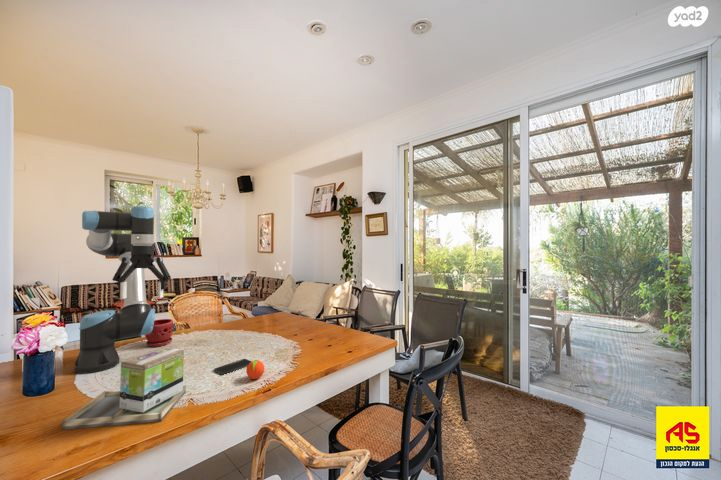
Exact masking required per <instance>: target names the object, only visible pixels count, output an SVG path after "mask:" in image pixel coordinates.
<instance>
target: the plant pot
mask: <svg viewBox="0 0 721 480" xmlns="http://www.w3.org/2000/svg"><path fill="white" fill-rule="evenodd" d="M173 332H174V320H173V319H170V318H162V319H161V318H160V319H154V325H153V330H152V332H151V333H150V334H146V335H144V336H145V339H146V340H147V341H146V344H145V345H147V346H148V347H151V348H152V347H153V348H155V347H164V346H166V345H168V344H170V343H171V342H172V341H173V337H172V336H173Z"/></svg>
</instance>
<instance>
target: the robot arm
mask: <svg viewBox="0 0 721 480" xmlns="http://www.w3.org/2000/svg"><path fill="white" fill-rule="evenodd" d="M154 212H155V210H154V208H153V207H151V206H146V205H145V206H141V205H136V206H135V205H134V206H132V207H131V209H130V212H119V211H117V212H116V211H101V210H85V211H83V212H82V214H81V228H82V229H83V230H84V231H88V235H87V237H86V241H85V242H86V246H87V247H88V249H89V250H90V251H92V252H93V253H95V254H98V255H100V256H105V257H118V260H119V261H120V262H121V263H120V264H119V266H118V268H117V270H116V272H115V274H114V275H113V277H112V281H113V282H117V289H118V291H120V292H119V293H120V300H123V302H124V304H123V306H122V307H121V308H120V311H119V312H116V311H115V310H113V309H108V310H107V309H106V310H100V311H96V312H93V313H89V314H86V315H84V316H83V317H81V319H80V322H79V328H78V329H79V352H78V355H77V357H76V360H75V363H74V365H73V372H74V373H76V374H90V373H91V374H92V373H98V372H102V371H105V370H110V369H112V368H113V367H114V368H115V367H116V366H118V365H119V364H120V356H119V353H118V350H117V348H116V345H115V344H116V343H115V340H123V339H129V338H133V337H141V336H145V335H146V334H150V333H151V332H152V330H153V325H154V320H155V319H156V318H155V316H156V315H155V313H156V311H155V308H151V304H149V303H148V302H147V292H146V279H145V275H146V274H145V269H148V270H150V272H151V273H153V274H154V276H155V277H156V278H157V279H158V280H159V281H158V282H157V298H158V299H161V298H164V290H166V288H167V286H166V285H167V283H166V282H167V281H169V280H171V279H172V276H171V275H170V272H169V271H168V269H167V268H166V266H165V264H164V262H163V261H164V260H163V257H162V256H157V257H154V254H155V253H154V252H155V246H154V243H155V238H154V237H155V236H154V234H155V233H154V232H155V231H154V229H155V225H154V224H155V213H154ZM113 231H114V232H113ZM115 231H117V232H118V231H119V232H121V231H122V233H119V232H118V233H115ZM123 231H125V232H126V231H127V232H130V233H123ZM154 262H155V263H156V264H157V266H158V268H159V269H158V268H157V267H156V266H155V264H154ZM117 364H118V365H117Z"/></svg>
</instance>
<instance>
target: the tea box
mask: <svg viewBox="0 0 721 480" xmlns="http://www.w3.org/2000/svg"><path fill="white" fill-rule="evenodd" d="M184 353H185V350H184V349H179V348H171V347H165V346H161V347H160V348H156V349H153V350H151V351H148V352H146V353H142V354H139V355H137V356H133V357H130V358H128V359H126V360H122V361H121V364H120V382H119V383H120V385H119V386H120V387H119V390H120V408H122V409H126V410H131V411H136V412H142V413H143V412H145V411H146V410H148V409H150V408H152V407H153V406H155V405H157V404H159V403H161V402H163V401H165V400H166V399H168V398H170V397H172V396H174V395H176V394H178V393H180V392H182V391H183V386H184V365H185V364H184V362H185V361H184V360H185V359H184V358H185V356H184V355H185V354H184Z"/></svg>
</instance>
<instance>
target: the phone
mask: <svg viewBox="0 0 721 480" xmlns="http://www.w3.org/2000/svg"><path fill="white" fill-rule="evenodd" d="M252 361H253V360H249V359H246V358H243V359H239V360H236V361H233V362H230V363H226V364H224V365H222V366H218V367H216V368H213V372H214V373H216V372H217V373H216V374H218V373H219V374H218V375H220V374H221V376H225V375H224V374H226V375H228V374H227V373H229V374H231V373H234V372H237V371H240V370H242V368H243V369H246V368H247V366H248V365H249V363H250V362H252ZM239 369H240V370H239ZM236 370H237V371H236ZM233 371H234V372H233ZM230 372H231V373H230Z"/></svg>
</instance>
